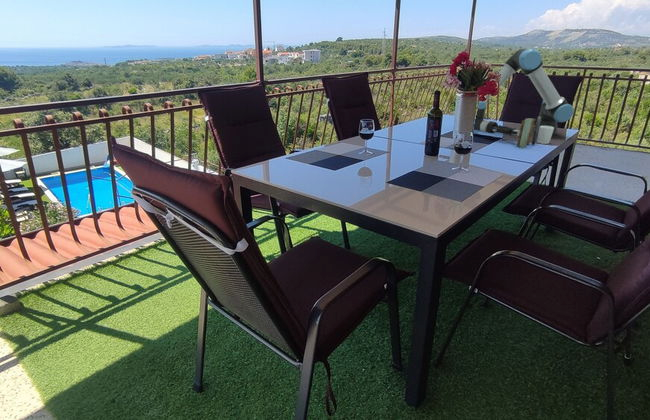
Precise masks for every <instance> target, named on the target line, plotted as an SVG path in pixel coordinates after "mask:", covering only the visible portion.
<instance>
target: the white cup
mask: <svg viewBox="0 0 650 420" xmlns="http://www.w3.org/2000/svg"><path fill="white" fill-rule="evenodd" d="M553 130H554V127H551V126H540V128H539V133H538V134H537V138H536V143H537V144H540V145H541V144H542V145H548V144H550V142H551V140H552V139H551V138H552V136H553V135H552V133H553Z"/></svg>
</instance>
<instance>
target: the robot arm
mask: <svg viewBox="0 0 650 420" xmlns="http://www.w3.org/2000/svg"><path fill="white" fill-rule="evenodd" d="M542 59H543V58H542V54H541V52H540V51H539V50H537V49H535V48H521V49H518V50H516V51H515V52H514V53H513V54H512V55H511V56H510V57H509V58H508V59H507V60H506V61H505V62H504V63H503V67H502V68H500V70H499V71H498V72H499V73H500V74H501V78H500V81H499V88H501V87H502V86H503V84H504V83H505V82H506V81H507V80H508V79H509V78H510V77H511V76H512V75H513V74H516V73H517V72H518V71H519V70H520V71H521V72H522V73H523V74H524V76H528V78H529V79H530V82H531V83H532V84H533V85H534V87H535V89H536V90H537V92H538V93H539V95H540V97H541V98H542V103H541V105H540V106H541V107H540V112H539V115H538V116H540V117H542V118H541V122H540V126H551V127H554V130H553V133H552V136H553V135H558V123H565V122H567V121H569V120H570V119H571V118H572V117H573V116H574V113H575V109H574V107H573V105H571V104H570V103H568V101H567V99H566V98H565V97H563V96H560V94H559V92H558V91H557V88H555V86H554V84H553V82H552V81H551V79H550V78H549V76H548V74H547V73H546V71H545V69H544V68H543V67H544V66H543V65H544V62H543V61H542ZM491 97H492V96H490V95H487V96H486V101H484V102H481V101H479V103H478V111H477V115H476V119H475V124H474V131H478V132H479V131H480V132H483V133H484V134H485V133H489V134H492V135H493V134H495V133H498V134H504V135H509V136H512V135H514V136H518V137H519V133H520V129H516V128H513V127H509V126H506V125H503V126H502V125H498V122H496V121H492V120H488V119H485V113H486V108H487V101H488V100H490V98H491ZM540 126H539V128H540ZM535 127H536V124H534V129H533V133H534V131H535ZM538 133H539V130H538Z"/></svg>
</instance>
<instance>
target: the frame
mask: <svg viewBox="0 0 650 420" xmlns="http://www.w3.org/2000/svg"><path fill="white" fill-rule="evenodd" d="M536 118H537V119H536V122H535V125H536V127H535V131H534V132H533V134H532V138H531V142H530V144H531V145H532V146H533V145H534V146H535V145H536V143H537V139H538V130H539V126H540V122H541V118H542V117H540V116H539V115H538V116H537V117H536ZM532 119H533V118H525V119H524V120H525V123H524V127H523V132H522V136H521V140H520V144H519V146H518V148H521V149H523V148H526V147H527V145H528V144H527V139H528V135H529V131H530V127H531V123H532Z"/></svg>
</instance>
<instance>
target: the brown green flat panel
mask: <svg viewBox="0 0 650 420" xmlns="http://www.w3.org/2000/svg"><path fill="white" fill-rule="evenodd" d="M531 119H532V123H531V127H530V131H529V135H528V139H527V144H526V145H529V144H531V142H532V138H533V134H534V132H533V129H534V126H535V125H536V121H537V119H536V118H531ZM524 123H525V119H524V120H521V123H520V124H521V125H520V129H519V131H520V133H519V136H518V138H517V142H516V146H518V147H519V144H520V140H521V136H522V132H523V127H524Z"/></svg>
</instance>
